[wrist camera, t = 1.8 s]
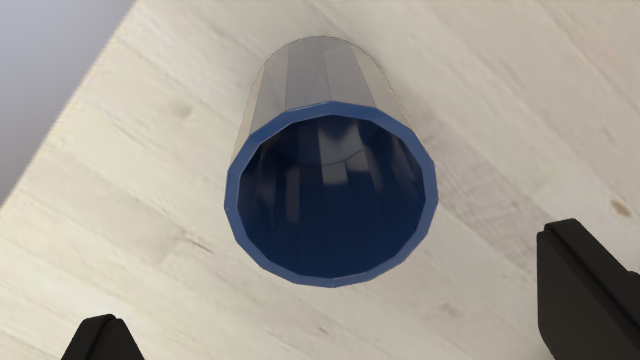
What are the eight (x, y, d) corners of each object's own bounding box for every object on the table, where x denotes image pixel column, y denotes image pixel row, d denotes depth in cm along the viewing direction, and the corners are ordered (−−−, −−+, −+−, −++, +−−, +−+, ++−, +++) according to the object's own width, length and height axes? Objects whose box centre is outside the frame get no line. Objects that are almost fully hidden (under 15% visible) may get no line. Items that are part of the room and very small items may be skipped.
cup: (376, 20, 21) (424, 80, 13) (397, 152, 24) (447, 266, 16) (233, 54, 21) (195, 130, 13) (271, 179, 24) (258, 303, 16)
